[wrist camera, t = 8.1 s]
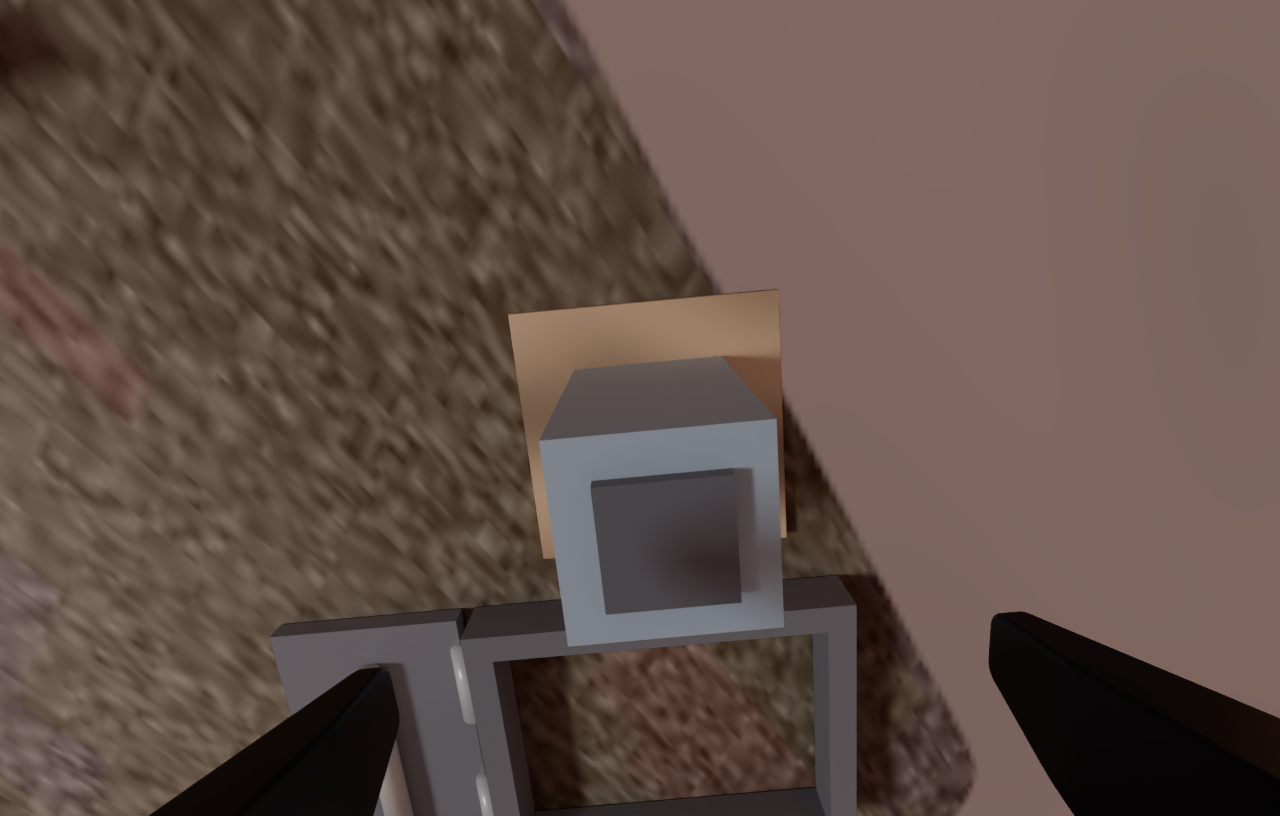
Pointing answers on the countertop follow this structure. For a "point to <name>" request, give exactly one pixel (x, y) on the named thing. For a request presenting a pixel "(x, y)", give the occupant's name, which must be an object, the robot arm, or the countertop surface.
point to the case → (488, 714)
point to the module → (663, 503)
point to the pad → (644, 357)
